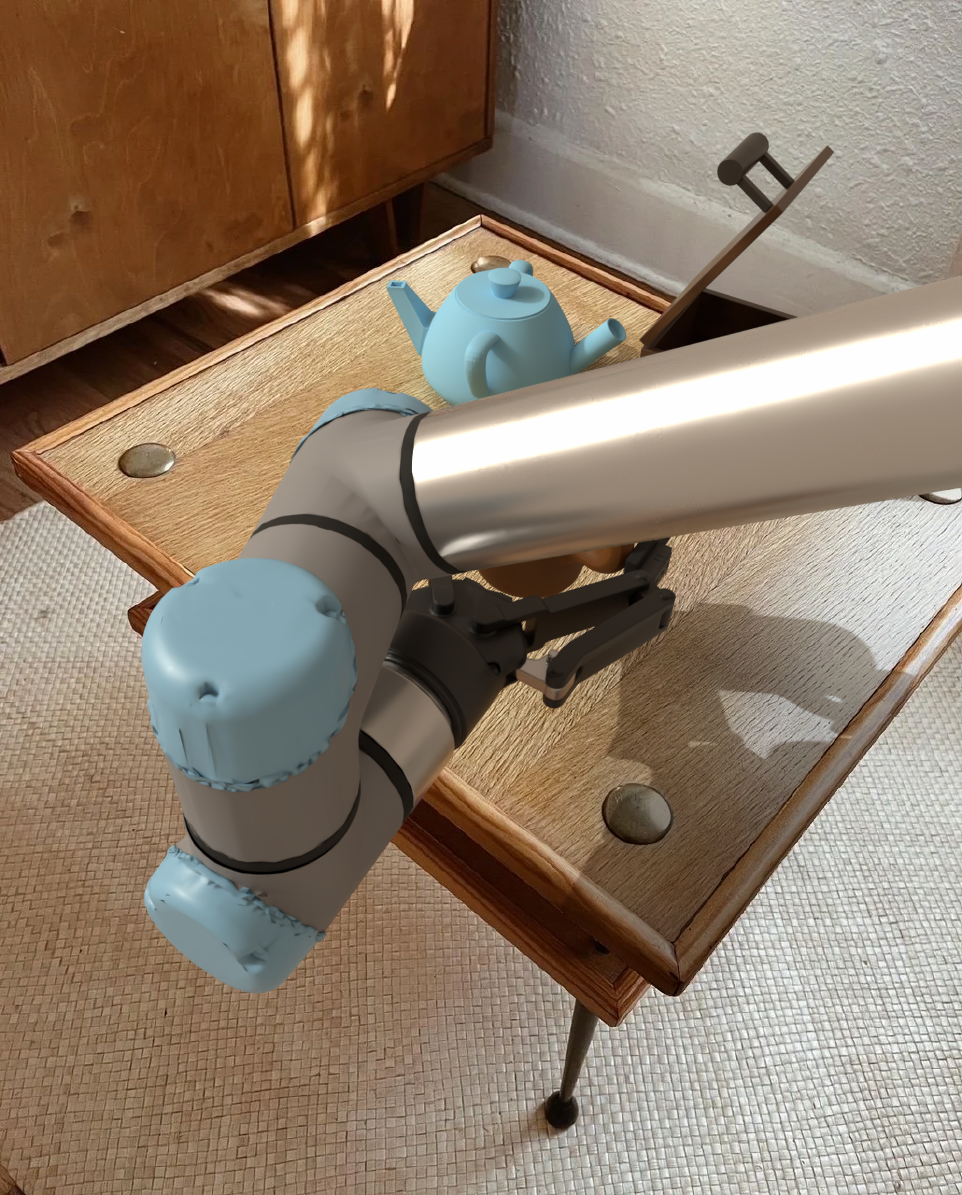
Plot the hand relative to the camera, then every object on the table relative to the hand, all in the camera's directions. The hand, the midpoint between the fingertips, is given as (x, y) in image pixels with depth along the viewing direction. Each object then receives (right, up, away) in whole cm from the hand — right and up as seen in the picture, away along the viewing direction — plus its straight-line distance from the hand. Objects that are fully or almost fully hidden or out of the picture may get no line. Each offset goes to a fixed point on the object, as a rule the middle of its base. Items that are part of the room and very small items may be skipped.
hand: (583, 481), depth 67 cm
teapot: (-5, +13, +31) cm, 34 cm away
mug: (-2, -7, +2) cm, 7 cm away
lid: (+14, +21, +17) cm, 30 cm away
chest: (+16, +8, +28) cm, 33 cm away
